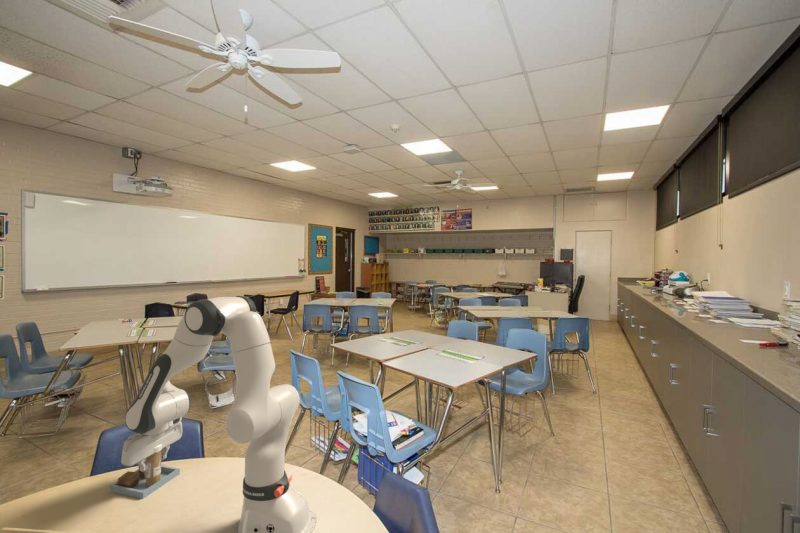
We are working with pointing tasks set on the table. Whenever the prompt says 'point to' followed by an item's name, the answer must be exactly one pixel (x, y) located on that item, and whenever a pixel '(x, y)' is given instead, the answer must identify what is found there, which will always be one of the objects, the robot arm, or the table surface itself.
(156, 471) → the sprinkles bottle
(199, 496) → the table surface
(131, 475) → the walnut block
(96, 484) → the table surface
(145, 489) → the tray
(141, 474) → the walnut block
